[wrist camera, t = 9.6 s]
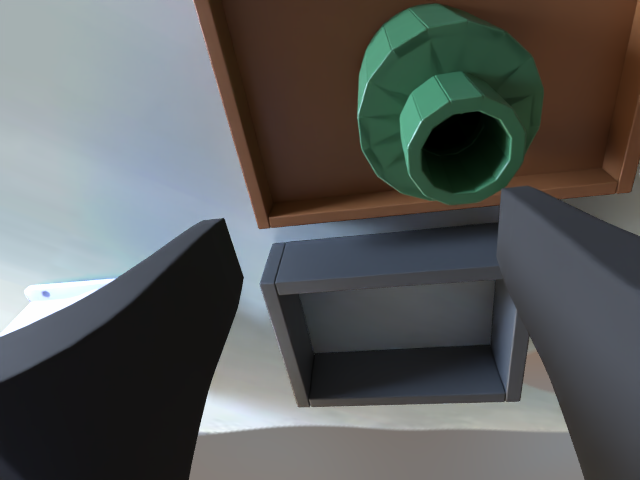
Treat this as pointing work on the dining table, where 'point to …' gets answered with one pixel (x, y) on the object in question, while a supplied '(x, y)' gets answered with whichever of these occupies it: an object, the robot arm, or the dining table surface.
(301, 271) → the crate
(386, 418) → the dining table surface
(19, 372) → the robot arm
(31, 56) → the dining table surface
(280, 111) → the tray
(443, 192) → the bottle
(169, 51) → the dining table surface
